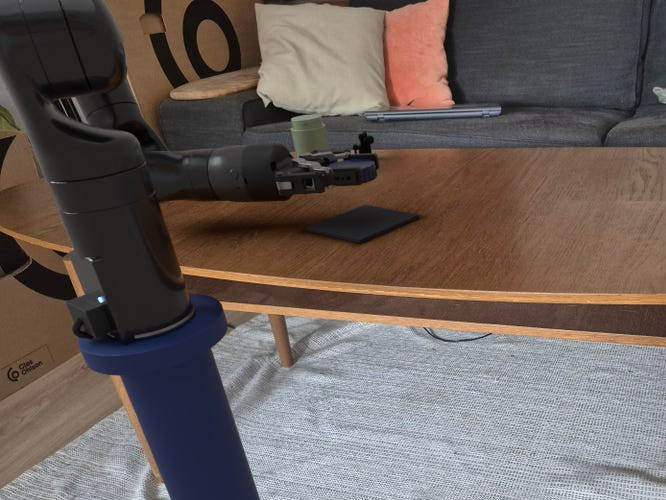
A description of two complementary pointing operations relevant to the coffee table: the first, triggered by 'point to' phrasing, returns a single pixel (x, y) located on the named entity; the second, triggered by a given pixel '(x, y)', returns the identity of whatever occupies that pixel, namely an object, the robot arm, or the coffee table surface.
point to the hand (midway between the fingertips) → (369, 168)
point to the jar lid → (365, 164)
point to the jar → (309, 134)
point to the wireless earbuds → (363, 144)
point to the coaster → (362, 223)
